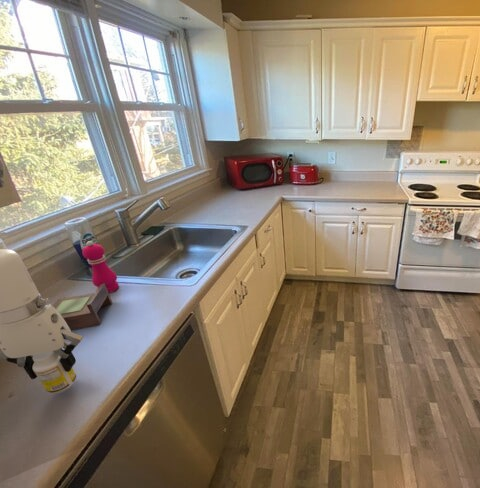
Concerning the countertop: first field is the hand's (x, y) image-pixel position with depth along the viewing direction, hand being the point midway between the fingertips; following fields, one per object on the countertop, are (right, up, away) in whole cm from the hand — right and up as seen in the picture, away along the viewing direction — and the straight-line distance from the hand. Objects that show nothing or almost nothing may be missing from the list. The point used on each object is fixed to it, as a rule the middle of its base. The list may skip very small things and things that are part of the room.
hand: (54, 369), depth 65 cm
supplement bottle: (0, -5, +2) cm, 5 cm away
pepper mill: (-19, +12, +41) cm, 46 cm away
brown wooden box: (-16, +5, +26) cm, 31 cm away
